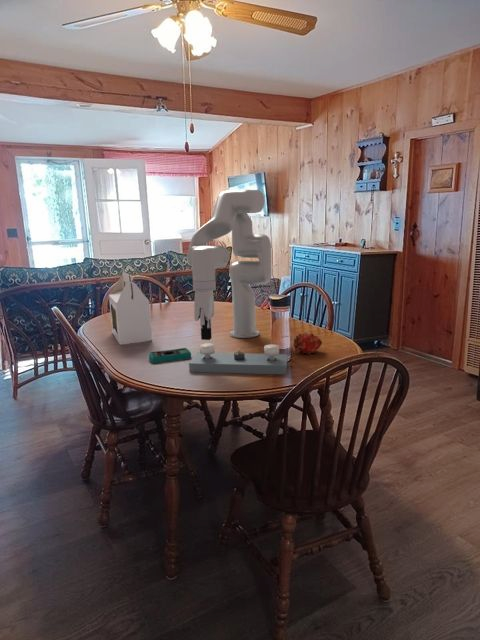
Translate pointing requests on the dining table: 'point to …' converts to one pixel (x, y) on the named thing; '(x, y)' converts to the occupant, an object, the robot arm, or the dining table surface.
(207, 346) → the knob
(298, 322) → the dining table surface
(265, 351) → the knob
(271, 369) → the mount board
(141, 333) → the gable box
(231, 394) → the dining table surface
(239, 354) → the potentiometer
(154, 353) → the digital multimeter
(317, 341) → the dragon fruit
